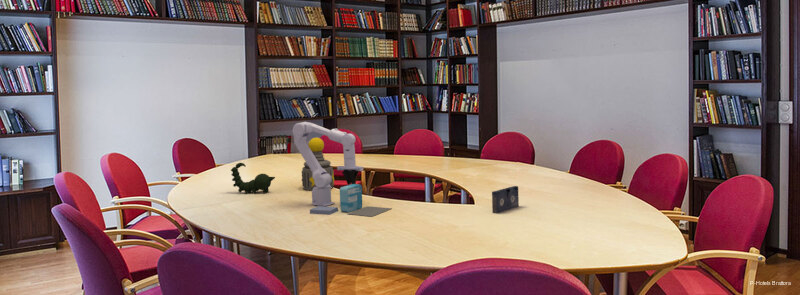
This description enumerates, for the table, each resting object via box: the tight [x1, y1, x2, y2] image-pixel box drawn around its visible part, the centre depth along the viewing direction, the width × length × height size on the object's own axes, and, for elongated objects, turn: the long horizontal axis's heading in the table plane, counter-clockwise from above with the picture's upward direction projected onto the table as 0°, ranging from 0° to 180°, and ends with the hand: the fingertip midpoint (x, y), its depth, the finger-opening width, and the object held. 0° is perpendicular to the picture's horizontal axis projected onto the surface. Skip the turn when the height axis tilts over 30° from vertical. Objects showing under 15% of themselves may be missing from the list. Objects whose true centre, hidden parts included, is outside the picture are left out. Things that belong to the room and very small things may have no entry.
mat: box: [347, 205, 392, 218], centre depth 300 cm, size 14×18×1 cm
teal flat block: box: [339, 183, 363, 213], centre depth 305 cm, size 12×4×12 cm, turn 146°
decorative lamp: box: [301, 137, 335, 192], centre depth 367 cm, size 19×19×30 cm
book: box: [309, 205, 339, 216], centre depth 302 cm, size 11×8×2 cm
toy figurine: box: [230, 162, 276, 195], centre depth 360 cm, size 9×19×25 cm
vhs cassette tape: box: [491, 185, 520, 214], centre depth 293 cm, size 18×3×10 cm, turn 135°
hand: (351, 184), depth 316 cm, fingers closed
